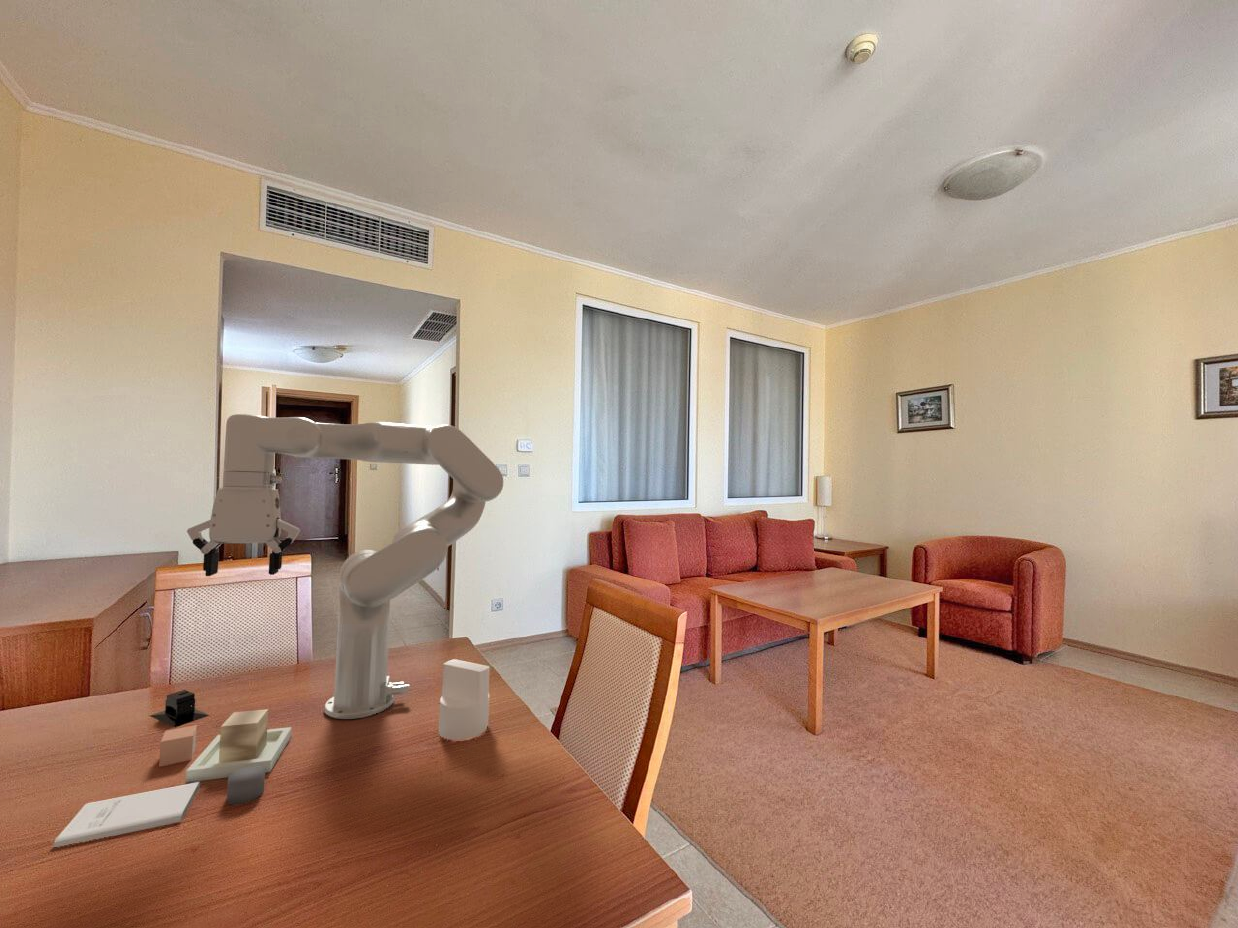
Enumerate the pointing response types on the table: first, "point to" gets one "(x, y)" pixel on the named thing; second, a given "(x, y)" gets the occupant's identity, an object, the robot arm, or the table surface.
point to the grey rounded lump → (245, 785)
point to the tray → (212, 769)
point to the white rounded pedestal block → (464, 700)
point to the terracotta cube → (178, 745)
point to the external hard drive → (128, 814)
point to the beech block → (243, 736)
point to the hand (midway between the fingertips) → (243, 574)
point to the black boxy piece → (179, 709)
